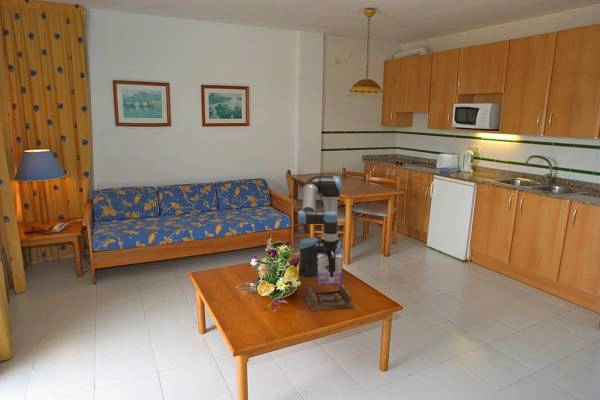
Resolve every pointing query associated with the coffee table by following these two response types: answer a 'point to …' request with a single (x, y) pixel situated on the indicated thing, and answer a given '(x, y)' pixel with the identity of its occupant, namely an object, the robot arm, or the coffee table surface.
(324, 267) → the candy box
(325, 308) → the peg frame
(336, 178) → the robot arm
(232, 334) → the coffee table surface
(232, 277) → the coffee table surface
